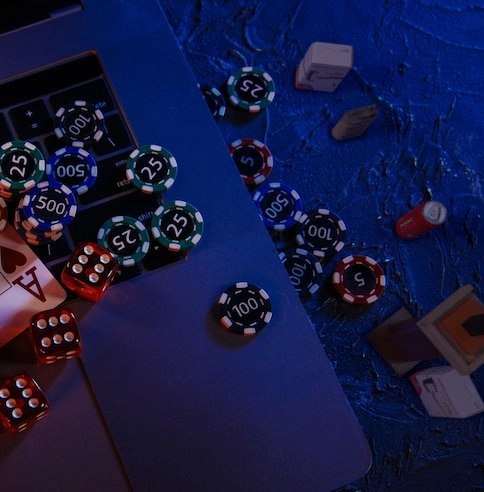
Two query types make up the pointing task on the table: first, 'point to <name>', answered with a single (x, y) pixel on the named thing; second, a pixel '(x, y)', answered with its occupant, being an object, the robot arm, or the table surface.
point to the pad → (459, 331)
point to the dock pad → (444, 340)
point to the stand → (402, 342)
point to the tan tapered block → (354, 122)
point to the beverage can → (421, 220)
